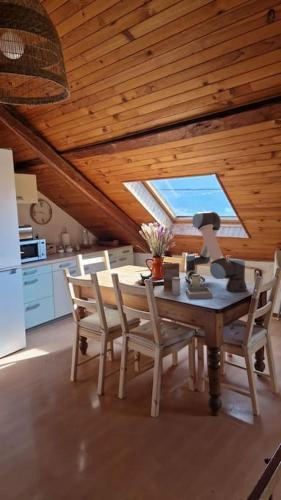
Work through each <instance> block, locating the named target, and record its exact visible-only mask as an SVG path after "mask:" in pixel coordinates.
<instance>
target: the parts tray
mask: <svg viewBox="0 0 281 500" xmlns="http://www.w3.org/2000/svg"><path fill="white" fill-rule="evenodd" d="M185 289H186V290H185V293H186V295H187V296H188V299H209V298H210V299H212V298H213V292H212V291H211V289H210V288H209V287H208V286H201V287H192V286H191V287H186V288H185Z"/></svg>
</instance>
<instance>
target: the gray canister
mask: <svg viewBox="0 0 281 500" xmlns="http://www.w3.org/2000/svg"><path fill="white" fill-rule="evenodd" d="M171 292H172V293H171V294H172V296H180V295H181V277H179V278H178V277H174V278H172V291H171Z"/></svg>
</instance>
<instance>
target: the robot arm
mask: <svg viewBox="0 0 281 500" xmlns="http://www.w3.org/2000/svg"><path fill="white" fill-rule="evenodd" d="M221 221H222V220H221V217H220V215H219V214H218V213H216V212H215V211H203V212H202V211H199V212H196V213H194V215H193V216H192V220H191V222H192V225H193V227H194V228H195V229H197V230H198V232H199V233H201V235H202V237H203V245H202V248H201V250H200V254H199V255H196V254H193V253H191V254H186V257H185V267H186V268H185V275H186V276H184V279H185V283H188V284H190V285H191V286H192V274H198V272H196V266H200V265H201V266H202V265H207V264H210V266H209V273H210V274H211V276H212V277H213V278H214V279H216V280H223V279H228V280H227V283H226V285H225V286H226V287H225V288H226V289H225V290H226V291H228V292H233V293H244V292H247V291H248V285H247V282H246V279H245V278H246V276H245V275H246V274H245V273H246V272H245V271H246V262H245V260H244V259H238V258H228V260H227V257H225V256H224V255H223V253H222V250H221V248H220V245H219V242H218V240H217V238H216V237H217V233H218V231H219V230H220V229H221V225H222V223H221ZM205 282H206V278H205V277H204V276H203V275H200V285H204V283H205Z"/></svg>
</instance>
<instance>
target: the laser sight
mask: <svg viewBox="0 0 281 500" xmlns="http://www.w3.org/2000/svg"><path fill="white" fill-rule="evenodd" d="M139 274H140V281H141V284H143V285H144V280H145V279H150V278H153V274H154V273H153V272H152V271H151V272H150V274H149V275H143V274H142V273H141V272H140V273H139ZM152 283H153V289H155V287H156V284H155V283H154V282H153V280H152Z"/></svg>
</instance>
